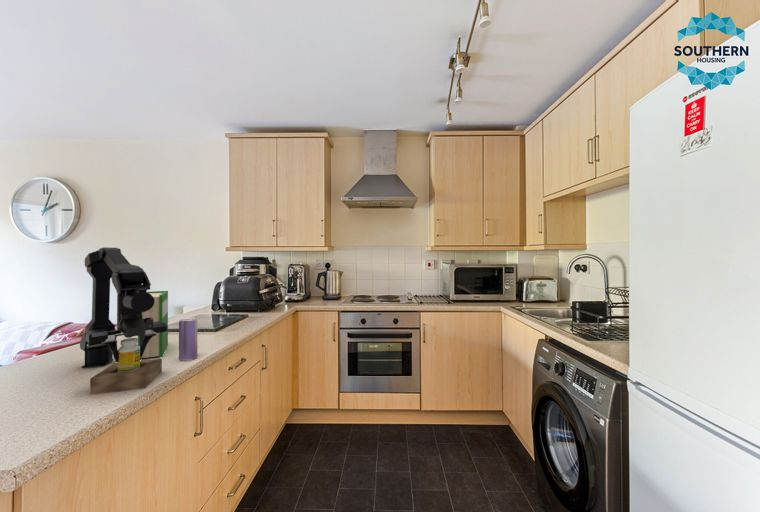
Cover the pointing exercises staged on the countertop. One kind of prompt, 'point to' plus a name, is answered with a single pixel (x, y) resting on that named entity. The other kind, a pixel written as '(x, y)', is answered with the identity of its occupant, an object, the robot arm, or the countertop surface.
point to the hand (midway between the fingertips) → (129, 359)
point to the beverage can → (188, 338)
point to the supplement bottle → (129, 355)
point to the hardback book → (158, 313)
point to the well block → (125, 377)
